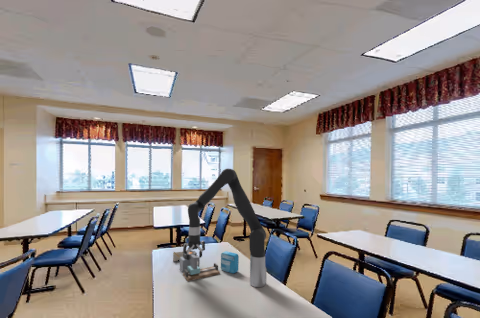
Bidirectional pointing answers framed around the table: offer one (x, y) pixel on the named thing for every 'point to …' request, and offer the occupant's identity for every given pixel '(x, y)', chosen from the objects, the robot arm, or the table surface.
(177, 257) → the model
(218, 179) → the robot arm
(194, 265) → the carriage
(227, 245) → the table surface
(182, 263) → the grey dispenser housing
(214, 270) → the rail base
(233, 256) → the data package
